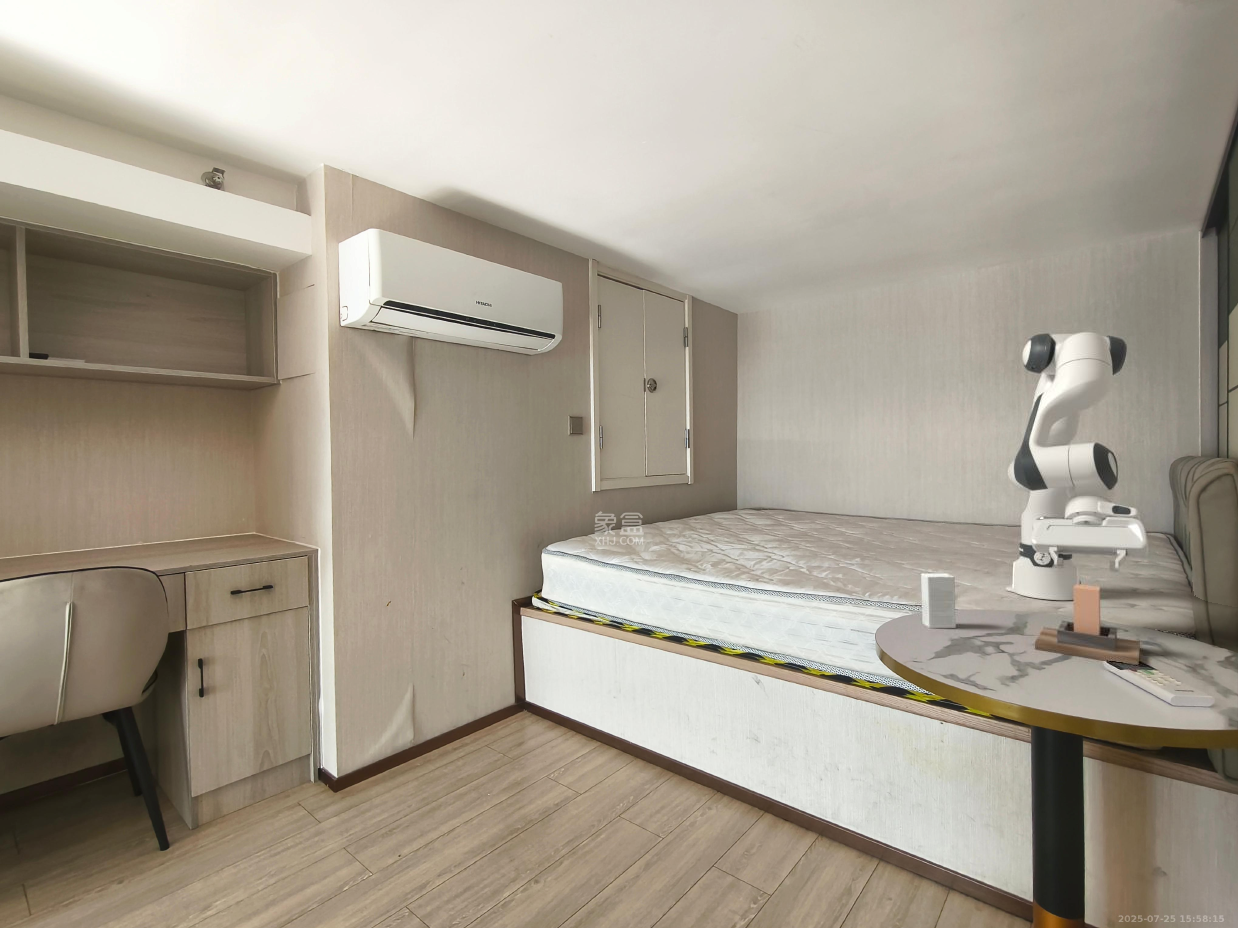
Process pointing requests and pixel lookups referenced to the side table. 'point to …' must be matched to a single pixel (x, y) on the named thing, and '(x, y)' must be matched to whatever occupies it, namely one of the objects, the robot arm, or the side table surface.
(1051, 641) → the socket board
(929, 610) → the skincare box
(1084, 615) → the peg
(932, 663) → the side table surface
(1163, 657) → the side table surface
